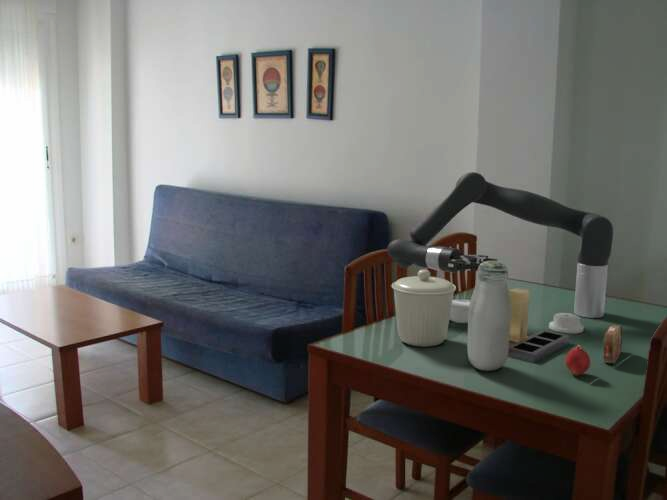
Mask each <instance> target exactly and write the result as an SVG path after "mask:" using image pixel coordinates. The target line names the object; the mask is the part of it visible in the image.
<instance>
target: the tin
mask: <svg viewBox="0 0 667 500" xmlns="http://www.w3.org/2000/svg"><path fill="white" fill-rule="evenodd" d="M622 346H623V328H622V325H615V324H612V325H610V326H609V327H608V328H607V330H606V331H605V333H604V336H603V362H604V363H605V364H613V365H615V364H616V361H617V360H618V359H619V356H620V355H621V354H622V349H623V347H622Z"/></svg>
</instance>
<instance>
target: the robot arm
mask: <svg viewBox="0 0 667 500" xmlns="http://www.w3.org/2000/svg"><path fill="white" fill-rule="evenodd" d="M473 203H474V204H479V205H483V206H487V207H491V208H494V209H496V210H499V211H501V212H503V213H506V214H507V215H510V216H512V217H515V218H518V219H521V220H523V221H526V222H528V223H532V224H536V225H539V226H544V227H545V226H546V227H552V228H557V229H561V230H564V231H567V232H569V233H572V234H573V235H577V236H578V237H580V238H581V248H580V251H579V253H578V255H577V266H576V278H575V279H576V280H575V281H576V282H575V289H574V290H575V294H574V306H573V314H575V315H576V316H579V317H583V318H592V319H597V318H599V319H600V318H602V317H604V314H605V304H606V303H605V302H606V291H607V279H608V270H609V269H608V267H609V259H610V257H611V254H612V246H613V238H614V227H613V224H612V222H611V221H610V219H608V218H607V217H605V216H603V215H601V214H599V213H594V212H593V213H592V212H589V211H583V210H578V209H573V208H571V207H568V206H566V205H564V204H562V203H560V202H557V201H555V200H553V199H551V198H548V197H545V196H543V195H540V194H537V193H534V192H531V191H527V190H522V189H518V188H511V187H503V186H500V185H496V184H494V183H492V182H489V181H487V180H486V179H485V177H484V176H483V175H482V174H481V173H479V172H474V171H471V172H467V173H464V174H462V176H461V177H459V179H458V180H457V181H456V183H455V187H454V188H453V190H452V191H451V192H450V193H449V194H448V196H447V197H445V199H443V201H442V202H440V203H439V204H438V205H437V206H436V207H434V208H433V209H432V210H431V211H430V212H428V213H427V214H426V215H425V216H424V217H423V218H422V219H420V221H419V222H418V223H416V224H415V226H414V227H412V228H411V229H410V231H409V236H410V240H408V239H403V238H400V239H399V238H398V239H394V240H392V241H391V242H390V243H389V244H388V246H387V249H386V250H387V252H386V253H387V254H388V256H389V257H390V258H391V259H392V260H393V261H394V262H395V263H396V265H398V267H399V268H401V269H402V268H409V267H411V266H412V265H415V266H417V267H420V268H424V269H425V268H426V269H432V270H434V271H440V272H445V273H452V274H453V273H457V272H466V271H467V272H468V271H469V272H471V271H476V272H477V271H478V267H479V265H480V264H481V263H483V262H485V261H492V260H493V261H499V260H498V259H497V258H490V257H489V256H488V255H482V254H474V253H471V254H464V255H463V254H462V252H461V249H460V248H455V247H446V246H431V245H428V244H429V243H430V242H431V241H432V240H433V239H434V238H435V237H436V236H437V235H438V234H439V233H440V232H441V231H442V230H443V229H444V228H445V227H446V226H447V225H448V224H449V223H450V222H451V221H452V220H453V218H455V217H456V216H457V215H458V214H459V213H460V212H462V211H463V210H464V209H465V208H466V207H467V206H469V205H471V204H473Z"/></svg>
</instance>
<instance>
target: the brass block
mask: <svg viewBox="0 0 667 500" xmlns="http://www.w3.org/2000/svg"><path fill="white" fill-rule="evenodd" d="M530 291H531V290H530V289H529V290H527V289H522V288H517V287H514V288H512V289H509V290H508V293H509V298H510V304H511V326H510V335H509V338H510V339H514V340H518V341H520V340H522V339H524V338H526V337H527V336H528V327H529V326H528V324H529V311H530V310H529V309H530V295H531V294H530Z"/></svg>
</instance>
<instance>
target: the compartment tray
mask: <svg viewBox="0 0 667 500" xmlns="http://www.w3.org/2000/svg"><path fill="white" fill-rule="evenodd" d="M569 344H570V335H568V334H563V333H561V332H554V331H549V330H546V329H541V330H540V331H538V332H535V333H533V334H530V335H529V337H527V338H525V339H523V340H521V341H519V342H515V343H513V344H511V345H510V344H509V350H508V356H507V357H509V358H514V359H518V360H520V361H524V362H529V363H532V364H534V363H536V362H537V361H540V360H541V359H543V358H546V357H547V356H548V355H551V354H553V353H554V352H556V351H558V350H560V349H561V348H563V347H565V346H567V345H569Z"/></svg>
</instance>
